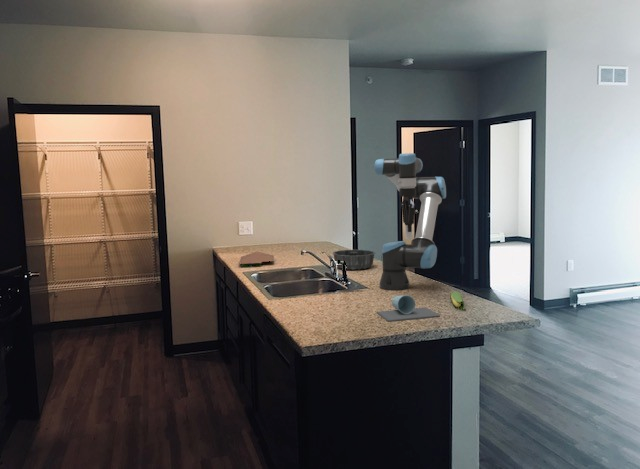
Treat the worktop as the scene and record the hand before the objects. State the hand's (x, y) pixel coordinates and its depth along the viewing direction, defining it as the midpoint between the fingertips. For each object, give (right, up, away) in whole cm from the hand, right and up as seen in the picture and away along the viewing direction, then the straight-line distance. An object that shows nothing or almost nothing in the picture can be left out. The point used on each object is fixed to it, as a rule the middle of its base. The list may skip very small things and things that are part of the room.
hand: (408, 238), depth 248 cm
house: (-84, -18, +118) cm, 145 cm away
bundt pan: (-20, -19, +87) cm, 91 cm away
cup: (-8, -27, -19) cm, 34 cm away
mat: (-5, -31, -28) cm, 42 cm away
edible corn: (+19, -29, -15) cm, 38 cm away
